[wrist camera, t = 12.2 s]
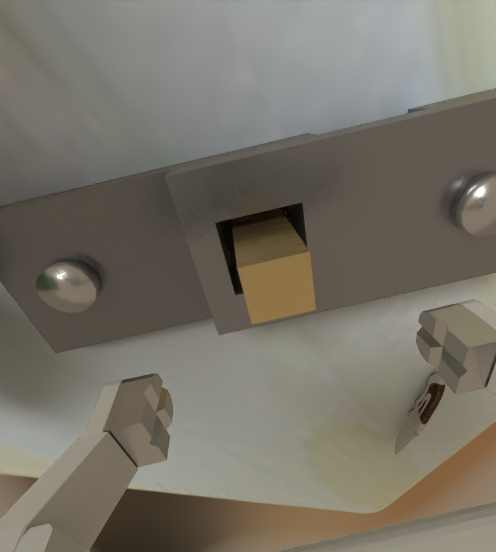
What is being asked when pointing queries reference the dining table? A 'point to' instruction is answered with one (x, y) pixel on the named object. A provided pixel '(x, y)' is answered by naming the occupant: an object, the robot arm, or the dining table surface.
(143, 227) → the lower chain end
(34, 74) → the dining table surface
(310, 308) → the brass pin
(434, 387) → the pocket knife
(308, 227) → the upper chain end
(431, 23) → the dining table surface
